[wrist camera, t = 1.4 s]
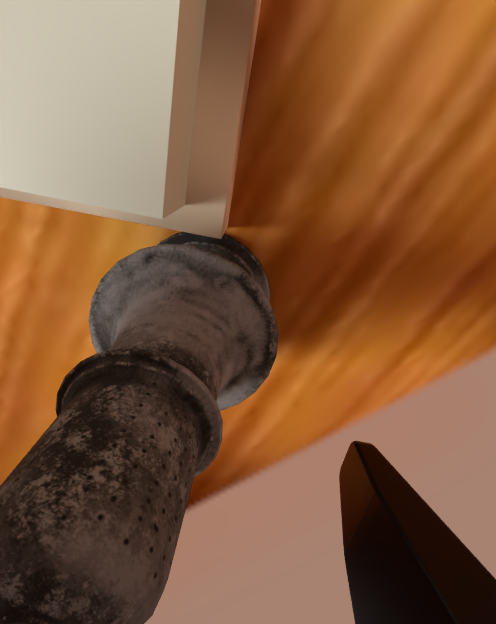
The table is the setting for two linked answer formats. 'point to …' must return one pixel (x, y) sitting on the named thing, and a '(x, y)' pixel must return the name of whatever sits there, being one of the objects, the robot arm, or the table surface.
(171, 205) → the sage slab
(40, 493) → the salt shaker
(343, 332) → the table surface
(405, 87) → the table surface
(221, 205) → the birch slab
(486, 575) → the robot arm
